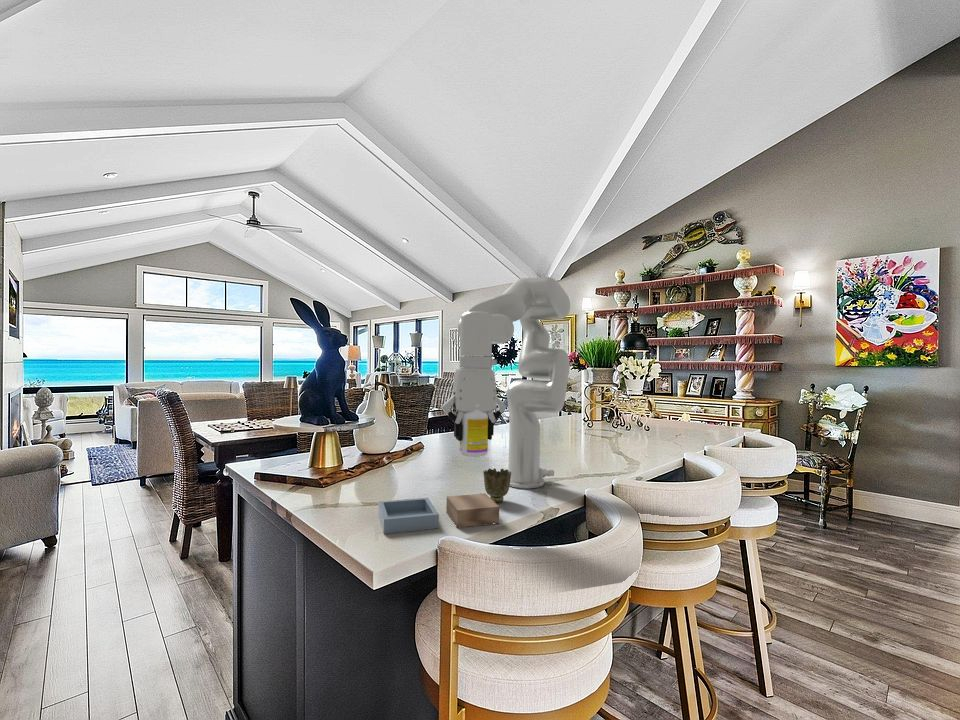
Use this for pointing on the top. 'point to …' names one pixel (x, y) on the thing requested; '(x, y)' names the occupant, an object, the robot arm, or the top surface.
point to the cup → (497, 483)
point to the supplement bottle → (474, 433)
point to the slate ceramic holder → (407, 515)
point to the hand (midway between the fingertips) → (473, 438)
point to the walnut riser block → (472, 510)
